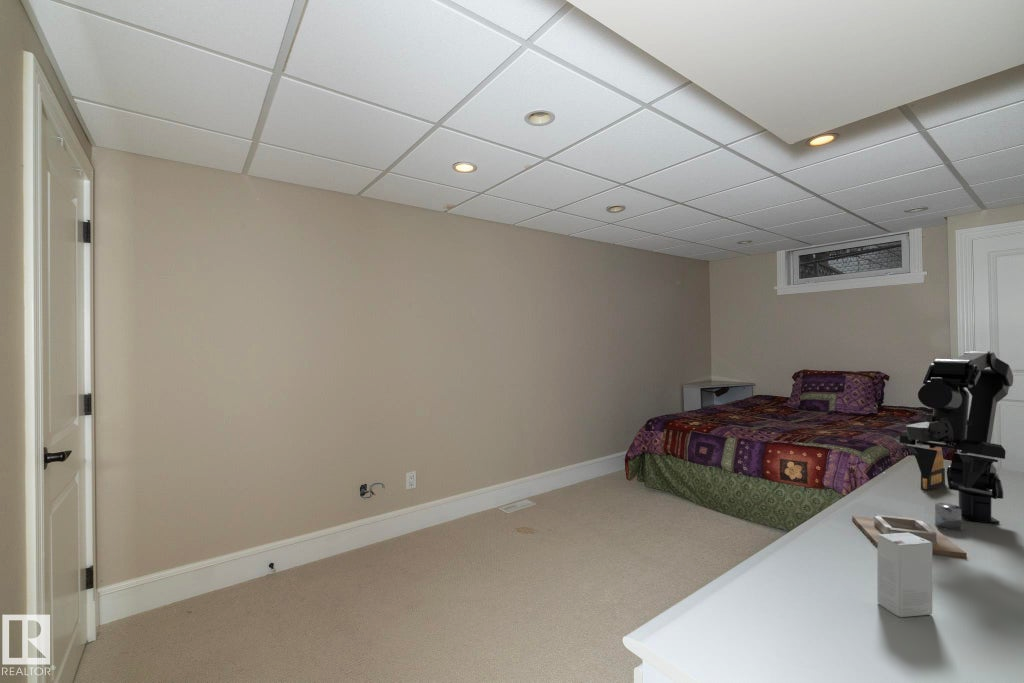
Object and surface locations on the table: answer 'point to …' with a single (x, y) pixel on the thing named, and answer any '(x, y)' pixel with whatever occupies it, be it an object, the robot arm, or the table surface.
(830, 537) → the table surface
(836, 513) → the table surface
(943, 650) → the table surface
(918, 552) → the skincare box
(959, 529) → the cylinder
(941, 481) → the ammunition clip
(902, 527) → the wooden board with frame
